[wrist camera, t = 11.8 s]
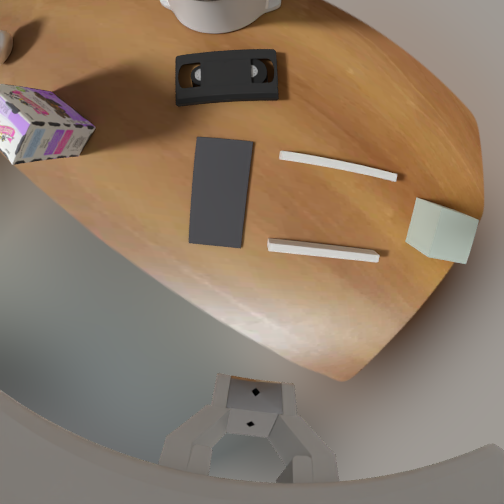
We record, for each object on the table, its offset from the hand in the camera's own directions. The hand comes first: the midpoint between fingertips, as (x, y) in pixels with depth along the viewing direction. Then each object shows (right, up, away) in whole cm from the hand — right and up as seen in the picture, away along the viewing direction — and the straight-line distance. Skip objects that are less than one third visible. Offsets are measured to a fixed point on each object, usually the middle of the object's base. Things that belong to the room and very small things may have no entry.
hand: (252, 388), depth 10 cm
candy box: (-31, +27, +25) cm, 48 cm away
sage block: (+32, +10, +33) cm, 47 cm away
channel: (+6, +13, +31) cm, 34 cm away
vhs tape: (-4, +31, +25) cm, 40 cm away
